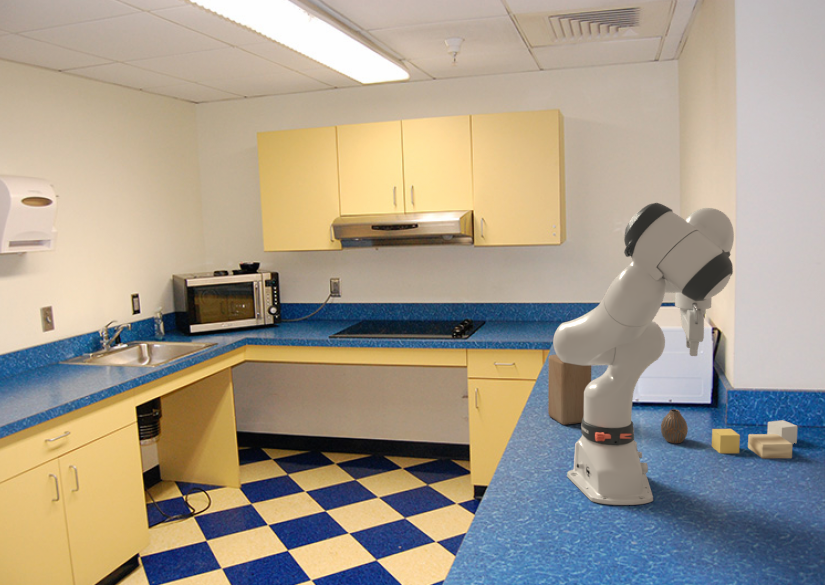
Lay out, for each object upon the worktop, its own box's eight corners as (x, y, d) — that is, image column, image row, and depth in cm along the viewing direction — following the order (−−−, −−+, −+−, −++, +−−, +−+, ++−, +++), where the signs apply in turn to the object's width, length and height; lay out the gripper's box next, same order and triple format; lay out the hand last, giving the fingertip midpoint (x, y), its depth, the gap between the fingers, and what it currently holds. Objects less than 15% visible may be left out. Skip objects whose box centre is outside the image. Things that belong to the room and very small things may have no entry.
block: (562, 426, 192) (563, 361, 190) (547, 416, 202) (547, 354, 200) (592, 422, 195) (592, 358, 193) (575, 412, 205) (575, 351, 202)
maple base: (791, 459, 164) (792, 444, 164) (762, 459, 165) (762, 444, 164) (776, 448, 172) (776, 434, 171) (747, 448, 172) (748, 434, 172)
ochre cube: (739, 453, 169) (739, 435, 168) (719, 453, 169) (720, 435, 168) (730, 446, 173) (731, 428, 173) (711, 446, 174) (712, 429, 173)
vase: (665, 434, 183) (666, 405, 182) (690, 439, 179) (691, 409, 178) (657, 441, 178) (657, 411, 177) (682, 447, 174) (683, 416, 172)
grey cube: (796, 443, 174) (797, 425, 174) (781, 445, 173) (782, 427, 173) (782, 437, 179) (783, 420, 179) (767, 439, 178) (767, 421, 178)
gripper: (711, 307, 159) (709, 361, 161) (701, 295, 178) (700, 344, 180) (683, 306, 161) (682, 360, 163) (677, 295, 180) (676, 343, 182)
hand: (691, 351), depth 171 cm, fingers open, 8 cm apart
